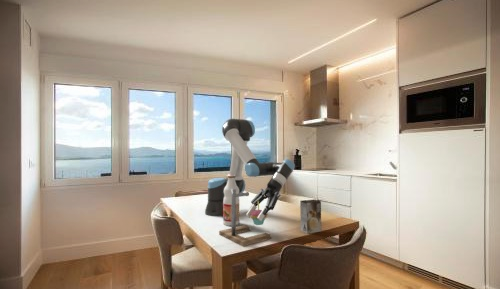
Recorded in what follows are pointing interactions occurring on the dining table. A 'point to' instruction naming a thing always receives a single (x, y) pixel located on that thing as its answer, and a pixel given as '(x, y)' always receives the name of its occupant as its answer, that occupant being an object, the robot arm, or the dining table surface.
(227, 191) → the fruit juice
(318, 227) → the coffee box
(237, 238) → the wooden u-shaped base
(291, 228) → the dining table surface
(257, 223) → the cupcake
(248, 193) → the hook post
